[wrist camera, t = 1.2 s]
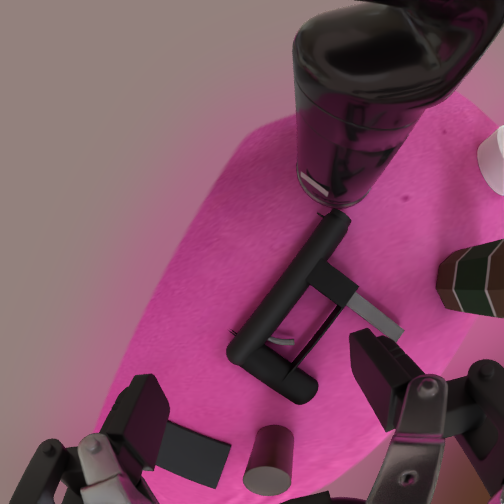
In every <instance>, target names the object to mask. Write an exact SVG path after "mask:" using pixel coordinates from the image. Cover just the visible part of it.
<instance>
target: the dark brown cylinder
mask: <svg viewBox="0 0 504 504" xmlns="http://www.w3.org/2000/svg"><path fill="white" fill-rule="evenodd" d="M293 449H294V436H293V434H292V432H291V431H290V430H289V429H287V428H285V427H283V426H279V425H270V426H266V427H264V428H262V429H261V430H260V431H259V432H258V433H257V436H256V439H255V442H254V445H253V449H252V452H251V455H250V458H249V461H248V464H247V467H246V470H245V473H244V476H243V483H244V485H245V487H246V488H247V489H248V490H250V491H251V492H253V493H256V494H259V495H263V496H274V495H278V494H281V493H283V492H285V491H286V490H287V489H288V488H289V487H290V485H291V478H292V464H293Z"/></svg>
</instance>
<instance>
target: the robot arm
mask: <svg viewBox="0 0 504 504" xmlns="http://www.w3.org/2000/svg"><path fill="white" fill-rule="evenodd" d="M357 1H364V2H362V3H359V4H355V5H351V6H348V7H343V8H338V9H334V10H330V11H326V12H323V13H321V14H318V15H316V16H314V17H312V18H311V19H309V20H308V21H306V22H305V23H304V24H303V25H302V26H301V27H300V28H299V30H298V31H297V33H296V36H295V39H294V42H293V50H292V52H293V53H292V54H293V69H294V84H295V100H296V124H297V176H298V180H299V182H300V185H301V186H302V188H303V190H304V191H305V192H306V193H307V194H308V195H309V196H310V197H311V198H312V199H313V200H315V201H316V202H318V203H320V204H322V205H325V206H328V207H332V208H345V207H349V206H352V205H355V204H357V203H358V202H360V201H361V200H362V199H364V198H365V196H366V195H367V194H368V193H369V191H370V189H371V188H372V186H373V185H374V183H375V182H376V181H377V179H378V178H379V177H380V175H381V174H382V172H383V171H384V170H385V168H386V167H387V166H388V164H389V163H390V161H391V160H392V159H393V157H394V156H395V154H396V153H397V151H398V150H399V149H400V147H401V146H402V144H403V143H404V141H405V140H406V139H407V137H408V136H409V134H410V132H411V131H412V129H413V128H414V126H415V125H416V123H417V122H418V120H419V119H420V117H421V116H422V114H423V113H424V111H425V110H426V109H427V108H430V107H433V106H436V105H438V104H440V103H441V102H443V101H444V100H446V99H447V98H448V97H449V96H450V95H452V93H453V92H454V91H455V90H456V89H457V87H458V86H459V85H460V84H461V82H462V81H463V80H464V79H465V77H466V76H467V75H468V74H469V72H470V71H471V70H472V68H473V67H474V66H475V65H476V63H477V62H478V61H479V60H480V58H481V57H482V56H483V54H484V53H485V52H486V50H487V49H488V48H489V46H490V45H491V44H492V42H493V41H494V40H495V38H496V37H497V36H498V34H499V33H500V31H501V30H502V28H503V27H504V0H357ZM349 343H350V358H351V368H352V372H353V375H354V377H355V379H356V381H357V383H358V384H359V386H360V388H361V389H362V391H363V393H364V395H365V396H366V398H367V400H368V402H369V403H370V405H371V407H372V409H373V410H374V412H375V414H376V416H377V417H378V419H379V421H380V423H381V425H382V426H383V428H384V430H385V432H388V431H391V430H393V429H396V431H395V434H394V435H393V437H392V439H391V442H390V445H389V448H388V451H387V453H386V456H385V459H384V461H383V464H382V466H381V469H380V471H379V474H378V476H377V478H376V481H375V483H374V486H373V487H372V490H371V492H370V494H369V496H368V498H367V500H362V499H357V498H348V497H336V498H330V494H329V491H325V492H321V493H317V494H313V495H309V496H304V497H300V498H295V499H290V500H288V501H285V502H283V503H280V504H430V503H431V501H432V497H433V494H434V491H435V487H436V483H437V479H438V475H439V471H440V467H441V462H442V458H443V452H444V446H445V438H447V437H451V436H455V438H456V440H457V441H458V443H459V444H460V446H461V447H462V449H463V451H464V452H465V454H466V455H467V457H468V459H469V460H470V462H471V464H472V465H473V467H474V468H475V470H476V472H477V474H478V475H479V477H480V479H481V480H482V482H483V484H484V486H485V487H486V489H487V491H488V493H489V494H490V496H491V498H490V499H489V501H488V503H487V504H504V368H503V367H502V366H501V365H500V364H499V363H497V362H496V361H493V360H489V359H483V360H479V361H477V362H475V363H473V364H472V365H471V367H470V369H469V371H468V375H467V376H464V377H461V378H457V379H453V380H450V381H445V380H444V379H443V378H442V377H440V376H438V375H435V374H425V373H424V372H423V371H422V370H421V369H420V368H419V367H418V366H417V365H416V364H415V362H414V361H413V360H412V359H411V358H410V357H409V356H408V355H407V354H405V352H404V351H403V350H402V349H401V348H400V347H399V346H398V344H397V343H396V342H395V341H394V340H392V339H390V338H388V337H385V336H383V335H382V336H379V337H376V336H375V335H374V334H373V333H372V331H371V330H370V329H369V328H365V329H362V330H359V331H356V332H353V333H350V335H349ZM169 413H170V407H169V402H168V400H167V398H166V396H165V394H164V392H163V391H162V389H161V387H160V385H159V383H158V381H157V379H156V377H155V376H154V375H153V374H143V375H135V376H134V378H133V380H132V381H131V383H130V385H129V387H126V388H125V389H124V390H123V391H122V392H121V393H120V394H119V396H118V397H117V399H116V401H115V404H114V405H113V407H112V411H110V413H109V414H108V416H107V418H106V420H105V422H104V424H103V426H102V428H101V430H100V432H99V433H93V434H90V435H88V436H86V437H84V438H83V439H82V440H81V441H80V443H79V445H78V446H77V447H69V448H65V447H64V446H63V444H62V443H61V442H60V441H59V440H57V439H48V440H46V441H44V442H42V443H41V444H40V445H39V447H38V449H37V450H36V452H35V454H34V456H33V458H32V459H31V461H30V463H29V465H28V467H27V468H26V470H25V472H24V474H23V476H22V478H21V480H20V482H19V484H18V486H17V488H16V490H15V492H14V494H13V496H12V498H11V500H10V503H9V504H55V502H54V498H53V497H54V494H55V491H56V489H57V486H58V484H59V482H60V480H61V481H62V482H63V483H64V484H65V485H66V486H67V487H68V488H67V491H66V493H65V496H64V499H63V502H62V504H159V502H158V501H157V499H156V498H155V496H154V494H153V493H152V491H151V490H150V488H149V486H148V485H147V483H146V481H145V479H144V478H143V477H142V476H141V474H142V470H145V471H154V468H155V464H156V461H157V457H158V453H159V449H160V446H161V442H162V438H163V435H164V431H165V428H166V424H167V421H168V417H169Z"/></svg>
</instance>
